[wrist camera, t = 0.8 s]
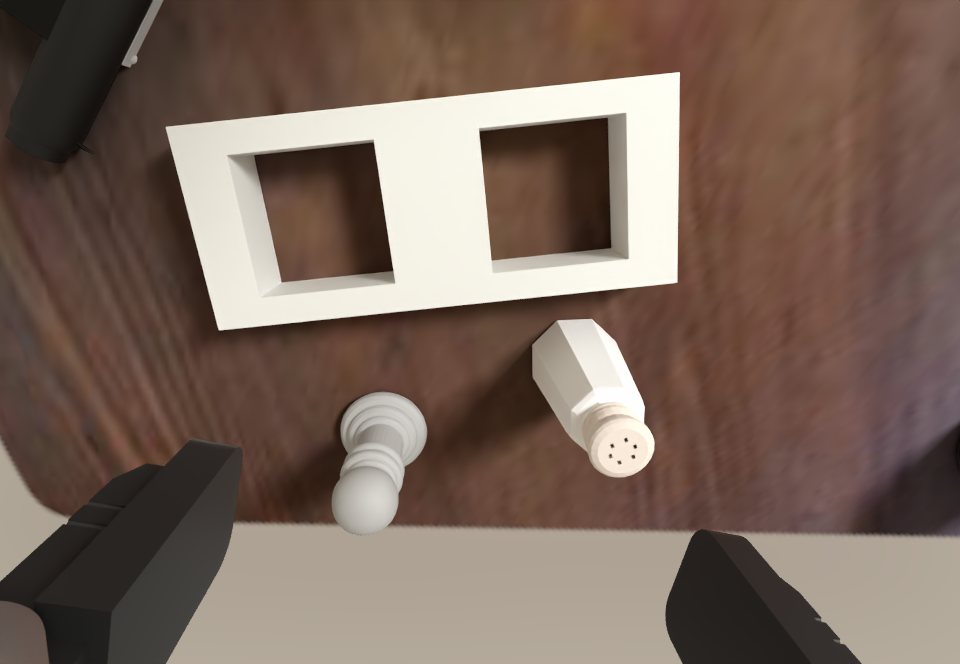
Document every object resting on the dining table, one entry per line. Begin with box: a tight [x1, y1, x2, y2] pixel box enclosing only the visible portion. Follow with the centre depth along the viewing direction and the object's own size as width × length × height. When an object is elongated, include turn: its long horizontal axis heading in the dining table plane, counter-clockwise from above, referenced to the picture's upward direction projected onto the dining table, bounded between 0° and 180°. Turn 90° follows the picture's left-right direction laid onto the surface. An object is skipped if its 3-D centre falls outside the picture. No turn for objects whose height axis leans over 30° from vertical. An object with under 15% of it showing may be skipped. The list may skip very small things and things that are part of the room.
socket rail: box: [166, 72, 680, 330], centre depth 29 cm, size 24×10×4 cm, turn 96°
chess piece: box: [332, 392, 427, 535], centre depth 30 cm, size 5×5×9 cm
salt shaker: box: [532, 319, 654, 477], centre depth 28 cm, size 5×5×11 cm
